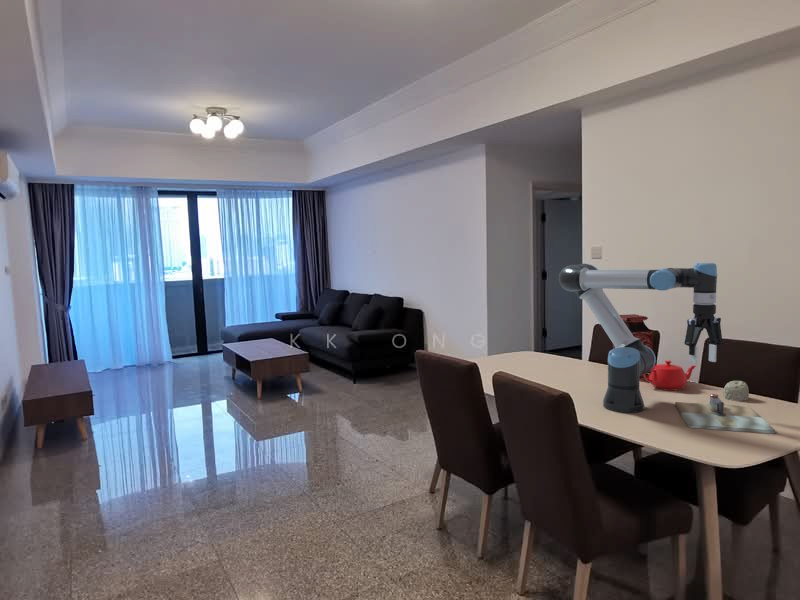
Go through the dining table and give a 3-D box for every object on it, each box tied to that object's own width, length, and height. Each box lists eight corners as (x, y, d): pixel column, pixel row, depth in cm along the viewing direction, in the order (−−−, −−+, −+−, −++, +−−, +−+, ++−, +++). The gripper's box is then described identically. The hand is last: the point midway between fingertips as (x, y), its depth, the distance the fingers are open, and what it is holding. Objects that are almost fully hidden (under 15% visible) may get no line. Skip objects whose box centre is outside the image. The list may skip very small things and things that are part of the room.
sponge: (744, 411, 214) (760, 391, 212) (723, 397, 215) (739, 378, 213) (734, 404, 223) (750, 385, 221) (714, 391, 224) (730, 372, 222)
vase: (611, 372, 268) (612, 314, 265) (637, 371, 269) (637, 313, 267) (626, 379, 254) (627, 318, 251) (653, 377, 256) (654, 316, 253)
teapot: (651, 392, 230) (652, 365, 229) (634, 384, 246) (634, 358, 244) (706, 390, 231) (707, 363, 230) (685, 381, 247) (686, 356, 246)
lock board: (688, 427, 185) (689, 410, 185) (675, 404, 212) (675, 390, 211) (775, 433, 177) (775, 416, 176) (750, 409, 203) (750, 394, 203)
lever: (715, 412, 196) (716, 401, 195) (708, 403, 206) (709, 393, 206) (724, 412, 195) (724, 402, 195) (717, 404, 205) (717, 394, 205)
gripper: (690, 306, 192) (688, 366, 194) (735, 303, 198) (733, 362, 200) (674, 304, 199) (672, 362, 202) (718, 301, 205) (716, 358, 207)
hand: (703, 362), depth 201 cm, fingers open, 8 cm apart
